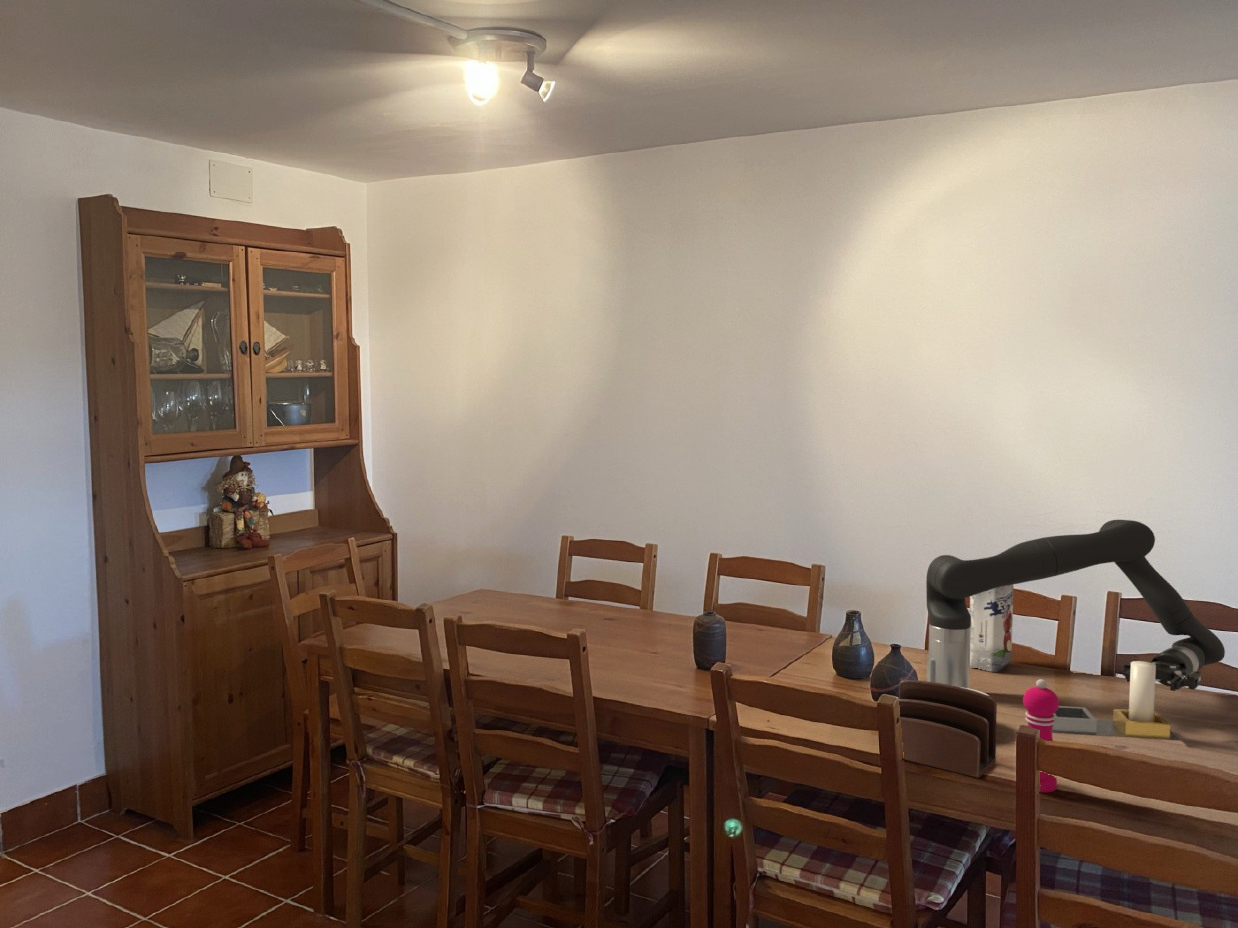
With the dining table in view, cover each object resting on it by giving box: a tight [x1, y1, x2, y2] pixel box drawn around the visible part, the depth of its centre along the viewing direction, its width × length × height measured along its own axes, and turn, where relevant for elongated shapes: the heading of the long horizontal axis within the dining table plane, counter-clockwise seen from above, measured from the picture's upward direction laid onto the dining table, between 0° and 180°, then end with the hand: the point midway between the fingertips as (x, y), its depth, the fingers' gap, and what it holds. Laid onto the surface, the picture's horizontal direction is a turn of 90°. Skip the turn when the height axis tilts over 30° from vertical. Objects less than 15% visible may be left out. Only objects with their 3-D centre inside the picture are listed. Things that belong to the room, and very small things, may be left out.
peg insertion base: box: [1052, 705, 1181, 741], centre depth 207 cm, size 26×10×4 cm, turn 79°
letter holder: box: [897, 679, 998, 779], centre depth 193 cm, size 10×20×14 cm, turn 51°
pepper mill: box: [1022, 678, 1060, 793], centre depth 179 cm, size 7×7×20 cm
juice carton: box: [969, 584, 1014, 673], centre depth 253 cm, size 9×10×27 cm
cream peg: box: [1128, 660, 1156, 722], centre depth 205 cm, size 5×5×14 cm
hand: (1150, 681), depth 207 cm, fingers open, 8 cm apart
